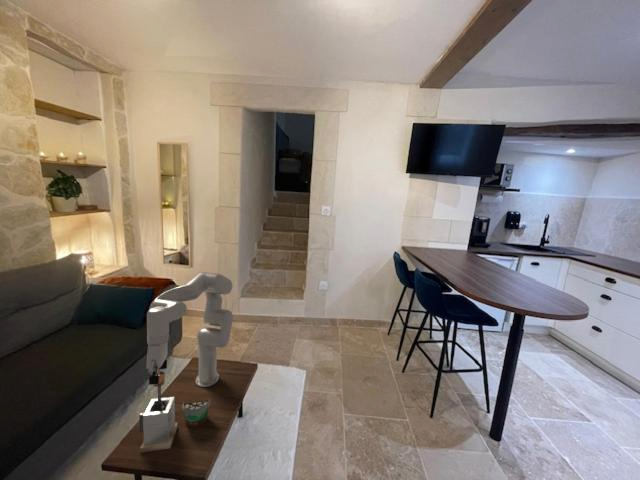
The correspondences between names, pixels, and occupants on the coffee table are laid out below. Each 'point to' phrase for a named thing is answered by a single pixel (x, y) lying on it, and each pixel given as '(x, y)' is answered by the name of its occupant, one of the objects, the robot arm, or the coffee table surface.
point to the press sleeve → (158, 421)
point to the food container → (196, 413)
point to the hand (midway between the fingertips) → (158, 375)
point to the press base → (160, 446)
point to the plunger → (161, 382)
